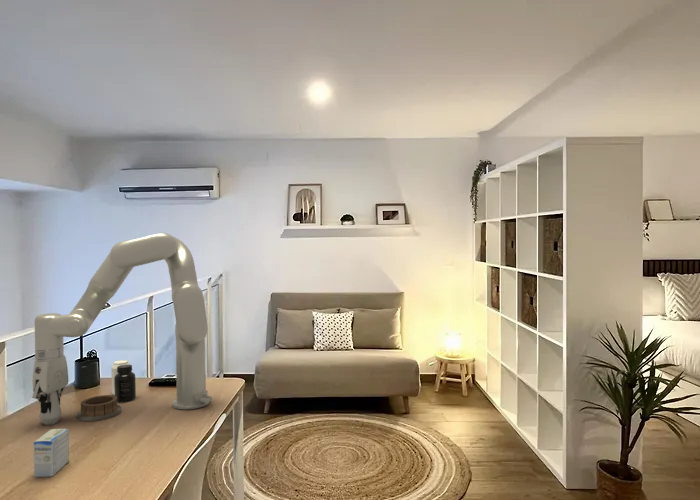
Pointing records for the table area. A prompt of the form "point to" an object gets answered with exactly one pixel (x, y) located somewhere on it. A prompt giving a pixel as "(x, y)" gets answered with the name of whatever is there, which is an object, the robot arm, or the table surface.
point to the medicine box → (51, 452)
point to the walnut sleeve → (99, 408)
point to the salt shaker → (52, 411)
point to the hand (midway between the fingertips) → (50, 412)
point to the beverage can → (114, 371)
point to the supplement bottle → (125, 384)
